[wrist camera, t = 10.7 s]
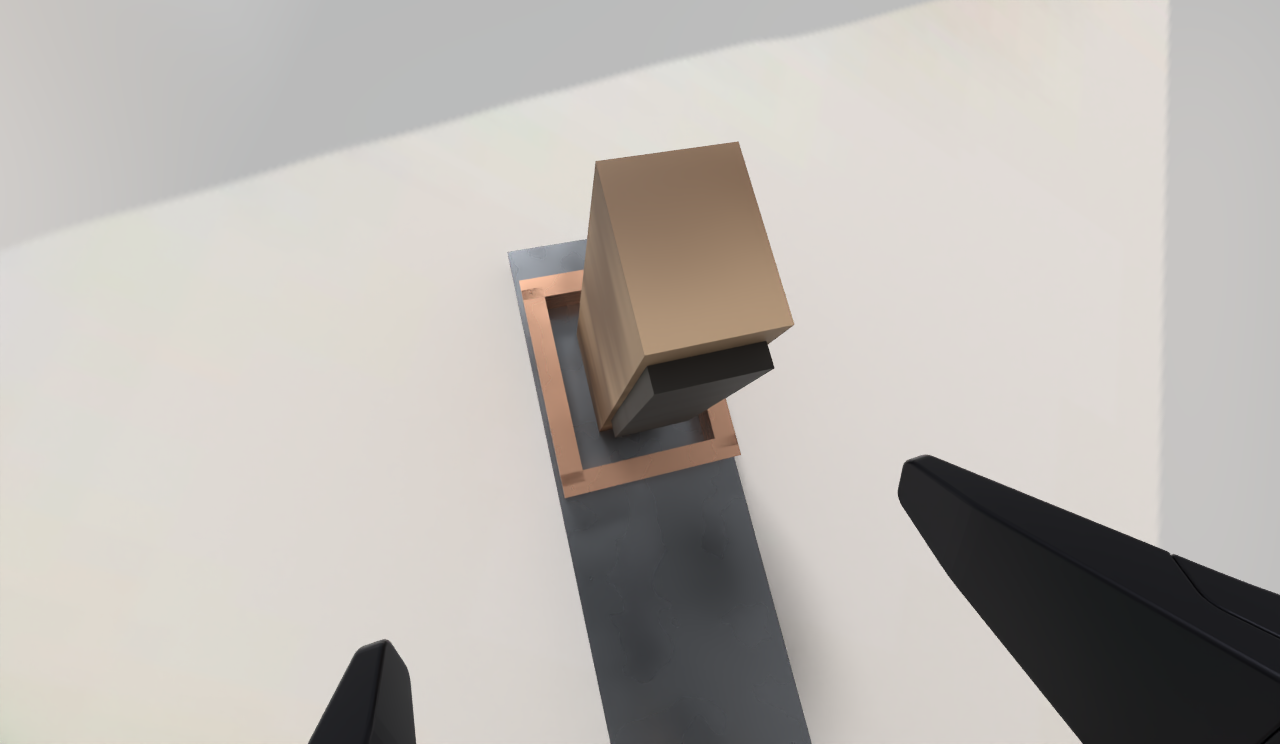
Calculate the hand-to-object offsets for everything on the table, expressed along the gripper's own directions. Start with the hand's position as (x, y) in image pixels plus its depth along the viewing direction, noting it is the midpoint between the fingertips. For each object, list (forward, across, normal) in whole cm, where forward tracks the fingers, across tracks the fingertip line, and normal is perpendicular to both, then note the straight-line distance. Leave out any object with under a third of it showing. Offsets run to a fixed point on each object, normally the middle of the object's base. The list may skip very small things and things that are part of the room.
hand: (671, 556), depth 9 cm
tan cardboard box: (+12, -2, +5) cm, 14 cm away
